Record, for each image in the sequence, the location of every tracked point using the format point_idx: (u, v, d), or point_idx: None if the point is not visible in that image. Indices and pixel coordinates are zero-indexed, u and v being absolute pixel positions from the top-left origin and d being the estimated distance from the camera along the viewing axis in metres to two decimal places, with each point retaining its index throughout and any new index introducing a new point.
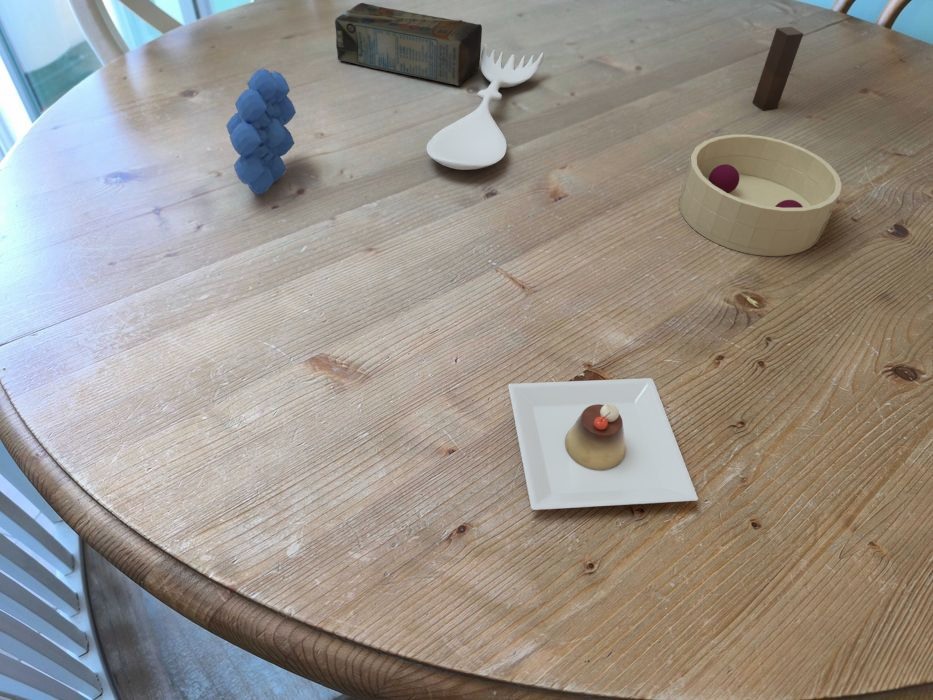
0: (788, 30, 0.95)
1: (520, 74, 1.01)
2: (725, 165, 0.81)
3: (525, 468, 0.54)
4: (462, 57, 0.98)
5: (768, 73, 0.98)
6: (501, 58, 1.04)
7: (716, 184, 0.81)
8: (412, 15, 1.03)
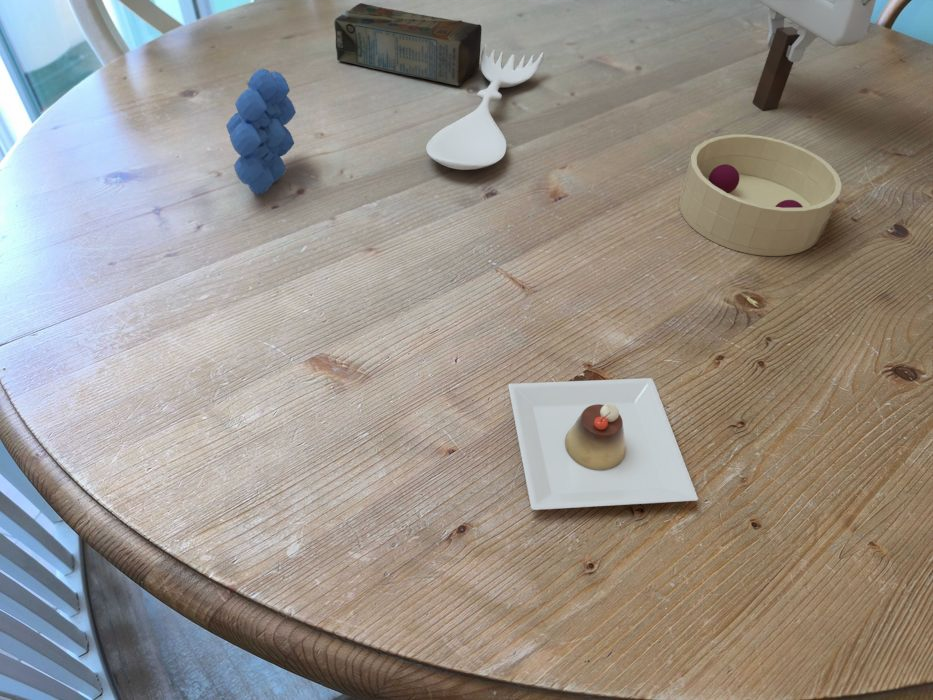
0: (789, 30, 0.94)
1: (520, 74, 1.01)
2: (725, 165, 0.81)
3: (525, 468, 0.54)
4: (462, 57, 0.98)
5: (768, 73, 0.98)
6: (501, 58, 1.04)
7: (716, 184, 0.81)
8: (412, 15, 1.03)
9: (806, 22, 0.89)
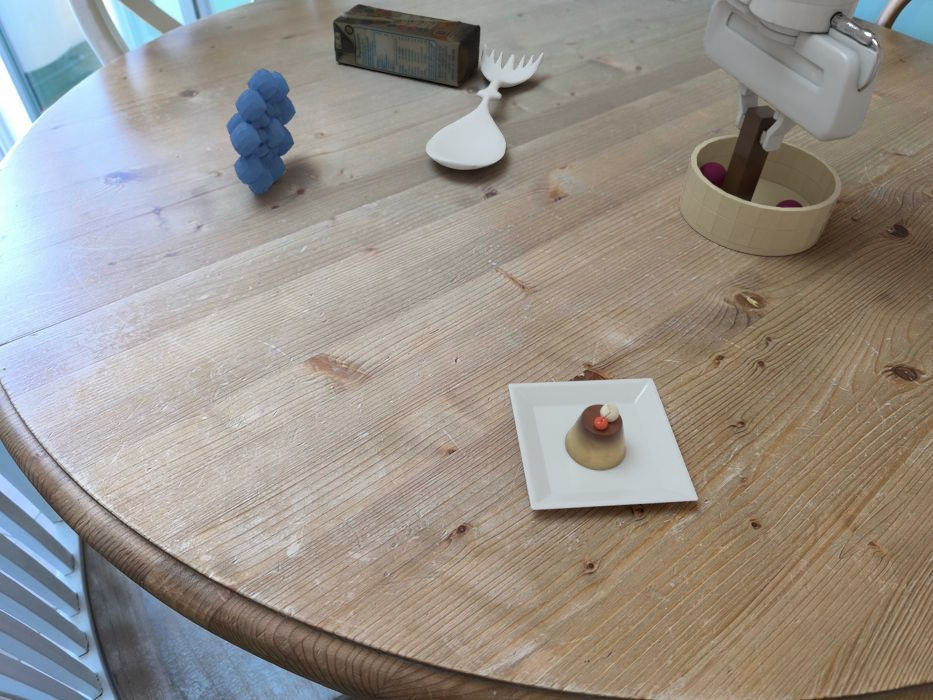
0: (763, 110, 0.73)
1: (520, 74, 1.01)
2: (702, 166, 0.82)
3: (525, 468, 0.54)
4: (461, 58, 0.98)
5: (738, 162, 0.77)
6: (501, 58, 1.04)
7: None
8: (410, 16, 1.03)
9: (784, 107, 0.68)
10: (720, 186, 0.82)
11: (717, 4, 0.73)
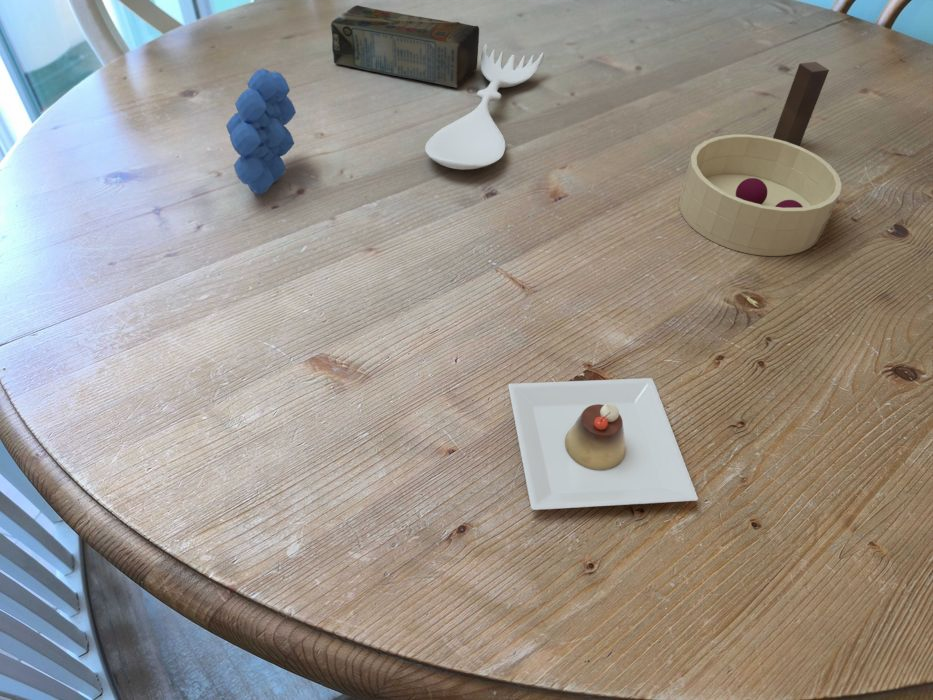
0: (813, 65, 0.87)
1: (520, 74, 1.01)
2: (761, 203, 0.80)
3: (525, 468, 0.54)
4: (460, 59, 0.98)
5: (790, 112, 0.90)
6: (501, 58, 1.04)
7: (745, 194, 0.79)
8: (409, 17, 1.03)
9: None
10: (736, 189, 0.81)
11: None
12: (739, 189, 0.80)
